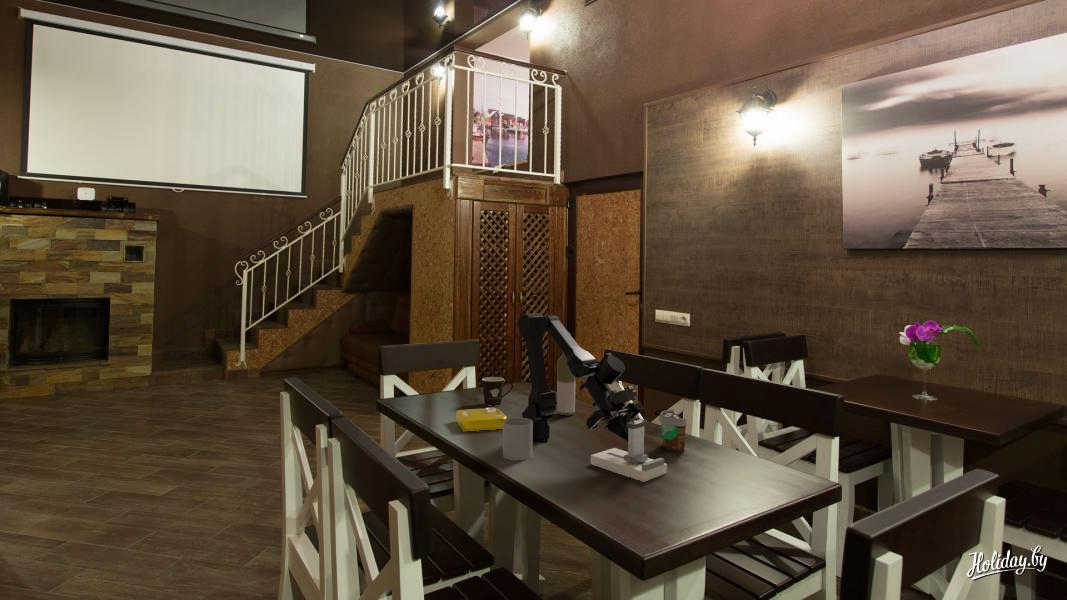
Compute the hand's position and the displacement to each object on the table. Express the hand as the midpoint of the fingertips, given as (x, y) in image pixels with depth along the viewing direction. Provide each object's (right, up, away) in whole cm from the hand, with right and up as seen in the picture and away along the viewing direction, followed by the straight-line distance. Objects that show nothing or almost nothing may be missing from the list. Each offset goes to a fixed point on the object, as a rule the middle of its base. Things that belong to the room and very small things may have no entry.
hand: (632, 441), depth 159 cm
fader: (+1, -5, -1) cm, 5 cm away
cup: (-31, -7, +11) cm, 34 cm away
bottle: (-14, -4, +59) cm, 61 cm away
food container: (+15, -7, +21) cm, 27 cm away
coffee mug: (-41, -3, +74) cm, 84 cm away
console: (-1, -8, +1) cm, 8 cm away
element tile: (-44, -5, +44) cm, 63 cm away
